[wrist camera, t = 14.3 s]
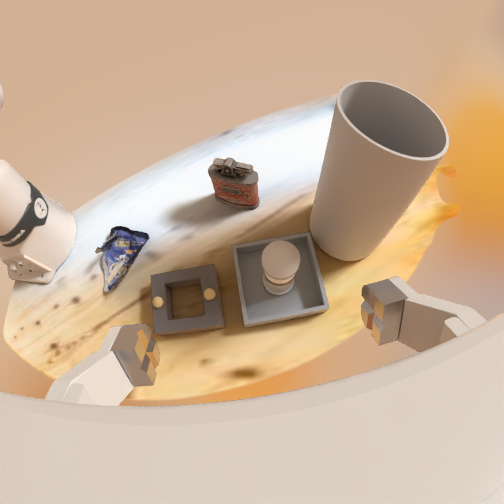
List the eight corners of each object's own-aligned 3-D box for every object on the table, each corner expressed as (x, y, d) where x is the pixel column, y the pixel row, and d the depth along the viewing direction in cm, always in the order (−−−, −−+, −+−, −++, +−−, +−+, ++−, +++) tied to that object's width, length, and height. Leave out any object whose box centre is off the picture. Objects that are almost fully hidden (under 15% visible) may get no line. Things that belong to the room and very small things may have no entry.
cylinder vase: (342, 277, 43) (411, 181, 20) (293, 220, 47) (310, 96, 24) (392, 235, 45) (464, 136, 22) (345, 186, 49) (382, 72, 26)
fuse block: (161, 336, 40) (153, 333, 37) (157, 281, 44) (149, 273, 41) (225, 327, 41) (221, 324, 37) (217, 270, 44) (213, 262, 41)
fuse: (266, 298, 42) (265, 279, 33) (260, 269, 43) (258, 243, 35) (296, 293, 42) (304, 272, 33) (290, 264, 43) (295, 237, 35)
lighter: (212, 201, 49) (201, 165, 40) (219, 186, 50) (210, 149, 41) (256, 212, 48) (253, 176, 39) (262, 197, 49) (260, 159, 40)
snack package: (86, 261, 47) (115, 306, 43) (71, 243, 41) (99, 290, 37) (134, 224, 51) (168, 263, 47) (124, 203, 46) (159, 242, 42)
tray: (245, 327, 40) (244, 324, 38) (233, 253, 45) (231, 245, 42) (325, 312, 41) (329, 308, 38) (307, 240, 45) (309, 231, 43)
